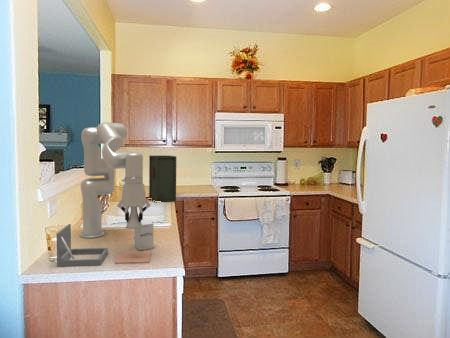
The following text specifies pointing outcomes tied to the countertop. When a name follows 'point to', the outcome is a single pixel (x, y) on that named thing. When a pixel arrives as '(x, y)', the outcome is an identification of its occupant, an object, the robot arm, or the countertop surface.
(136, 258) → the plate
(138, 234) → the supplement box
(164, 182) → the dark green tall block
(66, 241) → the case
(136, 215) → the flask
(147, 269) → the countertop surface
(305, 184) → the countertop surface
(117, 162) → the robot arm
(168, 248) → the countertop surface
